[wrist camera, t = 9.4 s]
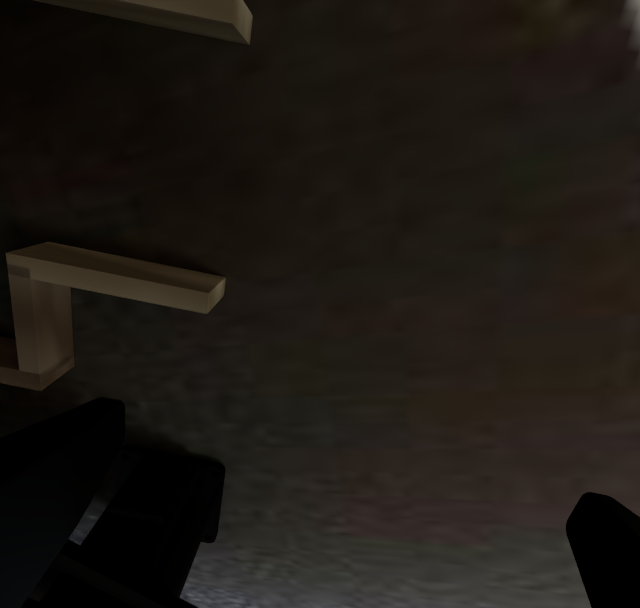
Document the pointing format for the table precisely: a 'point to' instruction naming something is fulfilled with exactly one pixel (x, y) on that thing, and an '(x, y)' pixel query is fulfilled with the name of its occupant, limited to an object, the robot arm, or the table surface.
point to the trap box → (96, 267)
